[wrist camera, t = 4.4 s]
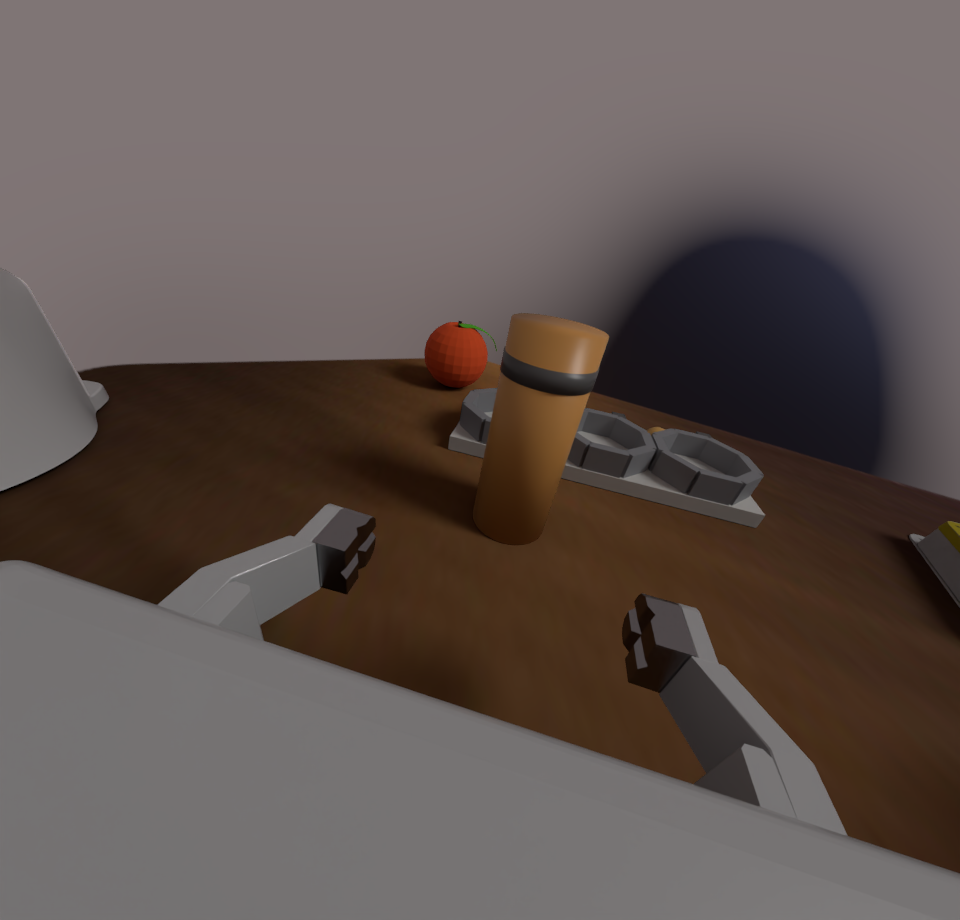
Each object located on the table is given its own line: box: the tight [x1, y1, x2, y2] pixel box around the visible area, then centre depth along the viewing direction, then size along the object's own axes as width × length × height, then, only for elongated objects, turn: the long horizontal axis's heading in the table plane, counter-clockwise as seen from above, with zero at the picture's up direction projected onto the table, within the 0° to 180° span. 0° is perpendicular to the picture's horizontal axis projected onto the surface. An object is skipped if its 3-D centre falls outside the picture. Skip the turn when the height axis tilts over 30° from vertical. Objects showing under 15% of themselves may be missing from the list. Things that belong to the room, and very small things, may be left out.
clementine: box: [425, 321, 497, 387], centre depth 40 cm, size 8×7×7 cm
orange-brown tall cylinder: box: [473, 313, 609, 545], centre depth 20 cm, size 5×5×12 cm
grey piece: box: [448, 388, 765, 528], centre depth 32 cm, size 24×11×3 cm, turn 77°
